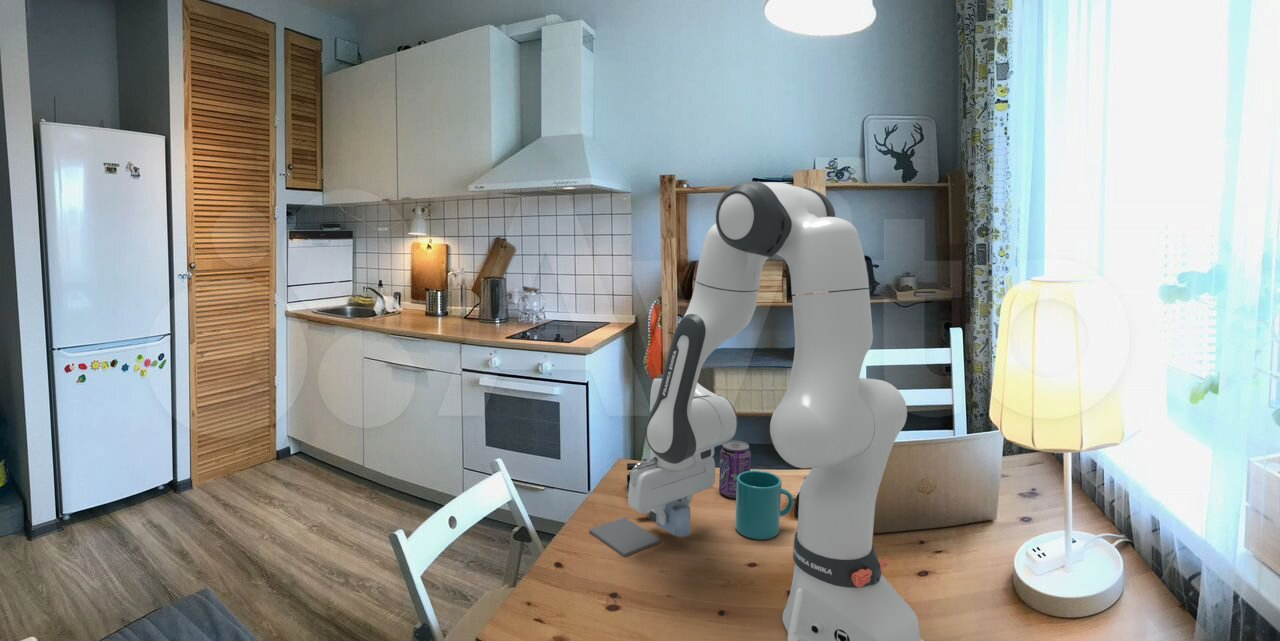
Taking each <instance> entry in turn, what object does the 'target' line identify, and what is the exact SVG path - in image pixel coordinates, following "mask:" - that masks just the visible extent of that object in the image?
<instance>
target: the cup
mask: <svg viewBox="0 0 1280 641" xmlns="http://www.w3.org/2000/svg"><path fill="white" fill-rule="evenodd" d="M782 483H783V482H782V478H780V477H779V476H778V475H776V474H774V473H771V472H768V471H763V470H750V471H746V472H742V473H740V474H739V475H738V476H737V485H736V498H735V518H734V519H735V521H734V523H735V524H734V527H735V529H736V531H737V532H738V533H739V534H740V535H742V536H743V537H744V538H745V537H746V538H749V539H753V540H757V541H759V540H760V541H761V540H770V539H774V538H775V537H776V536H777V535H778V534H779V532H780V526H781V525H780V524H781V517H785V516H786V515H788V514H789V513H790V512H791V511H792V509H793V506H794V497H793V495H792V493H791V492H789V490H787V489H785V488H782ZM782 495H784V496H786V497H787V500H788V503H787V506H786V507H785V508H784V509H782V510H781V507H782V506H781V502H782V500H781V499H782Z"/></svg>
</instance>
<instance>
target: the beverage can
mask: <svg viewBox="0 0 1280 641" xmlns="http://www.w3.org/2000/svg"><path fill="white" fill-rule="evenodd" d="M721 446H722V448H721V449H720V451H719V455H720V456H719V478H718V479H719V482H718V484H719V485H718V489H719V490H718V491H719V493H720V494H721V495H724V496H725V497H727V498H731V499H736V485H737V476H738V475H739V474H740V473H742V472H746V471H751V458H752V457H751V456H752V454H751V450H750V445H749V444H748V443H747V442H744V441H741V440H740V441H739V440H730V441H728V442H726V443H724V444H722V445H721Z"/></svg>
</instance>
